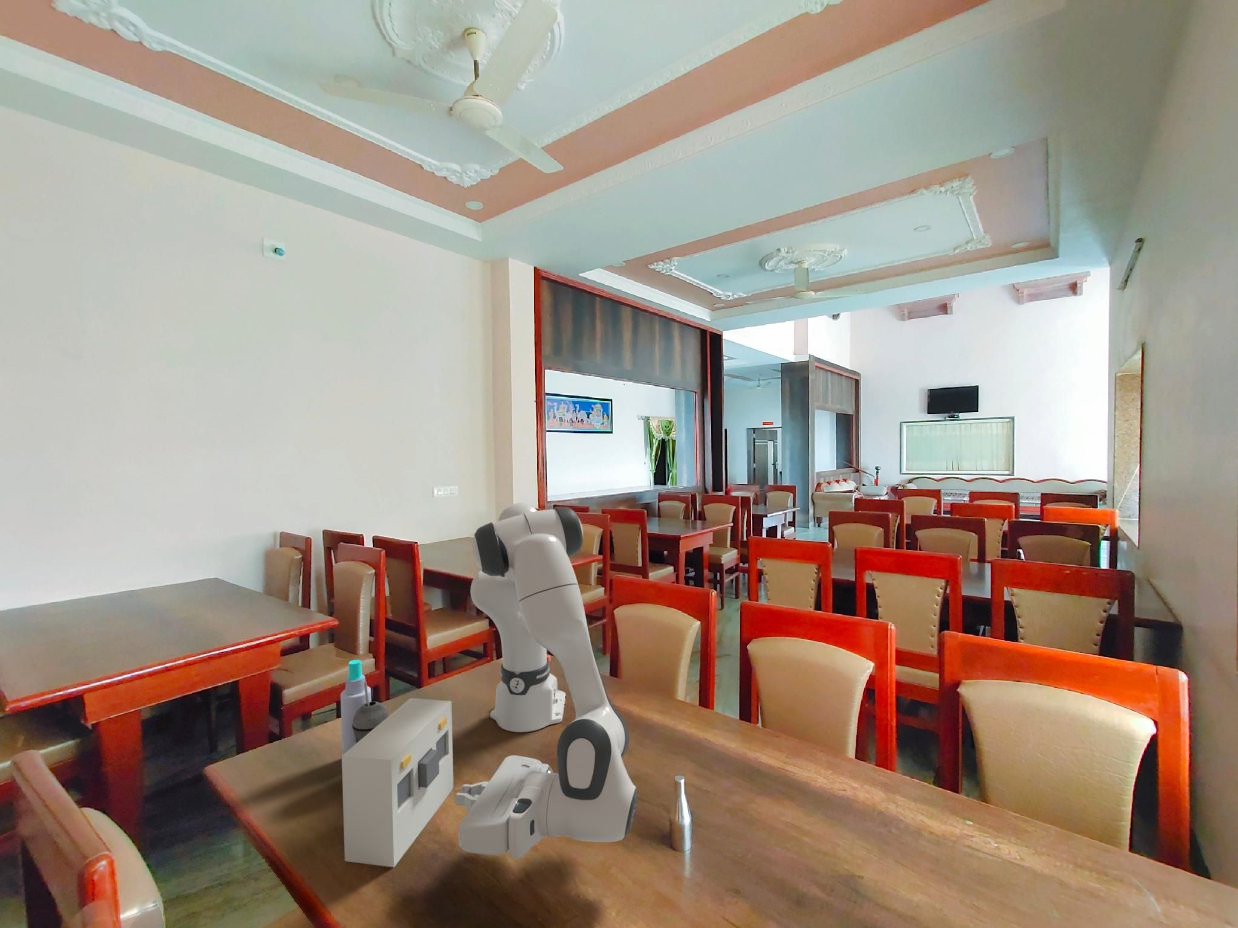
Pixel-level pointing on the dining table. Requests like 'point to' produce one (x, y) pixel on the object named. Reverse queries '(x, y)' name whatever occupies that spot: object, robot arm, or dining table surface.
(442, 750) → the key
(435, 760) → the key middle
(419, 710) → the key panel
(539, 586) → the robot arm
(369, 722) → the beverage cup
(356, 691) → the spray bottle
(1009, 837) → the dining table surface
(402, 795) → the key
